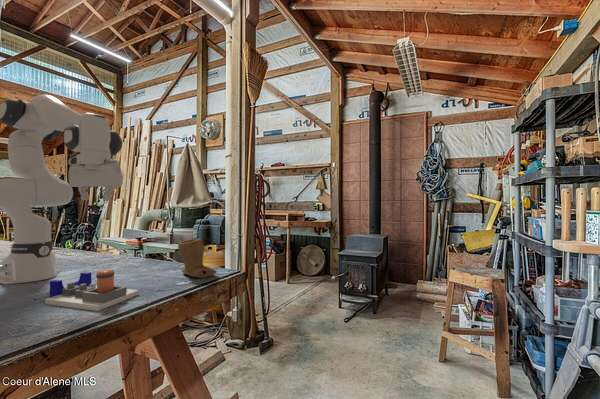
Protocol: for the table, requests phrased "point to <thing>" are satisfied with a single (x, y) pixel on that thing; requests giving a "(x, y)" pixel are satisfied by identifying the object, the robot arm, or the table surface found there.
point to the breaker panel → (90, 297)
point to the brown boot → (194, 258)
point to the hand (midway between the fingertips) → (95, 200)
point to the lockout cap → (105, 281)
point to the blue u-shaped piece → (57, 286)
